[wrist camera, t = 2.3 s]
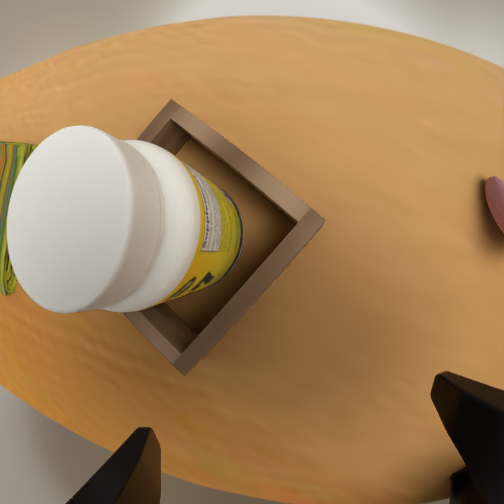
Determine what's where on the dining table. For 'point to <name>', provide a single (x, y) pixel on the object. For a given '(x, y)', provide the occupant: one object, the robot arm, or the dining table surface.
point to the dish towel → (3, 180)
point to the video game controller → (496, 199)
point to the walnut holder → (307, 225)
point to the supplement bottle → (116, 225)
